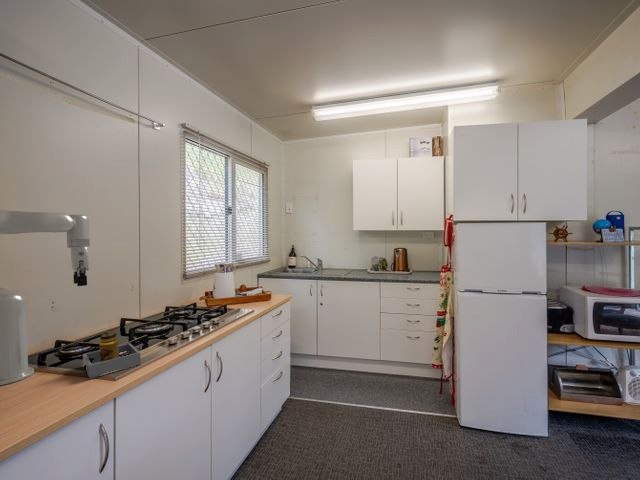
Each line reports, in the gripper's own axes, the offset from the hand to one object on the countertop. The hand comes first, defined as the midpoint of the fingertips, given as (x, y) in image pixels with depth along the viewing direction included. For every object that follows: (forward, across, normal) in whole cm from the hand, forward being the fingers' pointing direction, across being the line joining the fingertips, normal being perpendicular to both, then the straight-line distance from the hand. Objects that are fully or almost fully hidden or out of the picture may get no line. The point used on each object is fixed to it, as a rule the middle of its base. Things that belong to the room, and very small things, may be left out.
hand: (80, 284), depth 130 cm
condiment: (+30, -21, -6) cm, 37 cm away
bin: (+30, -22, -6) cm, 38 cm away
